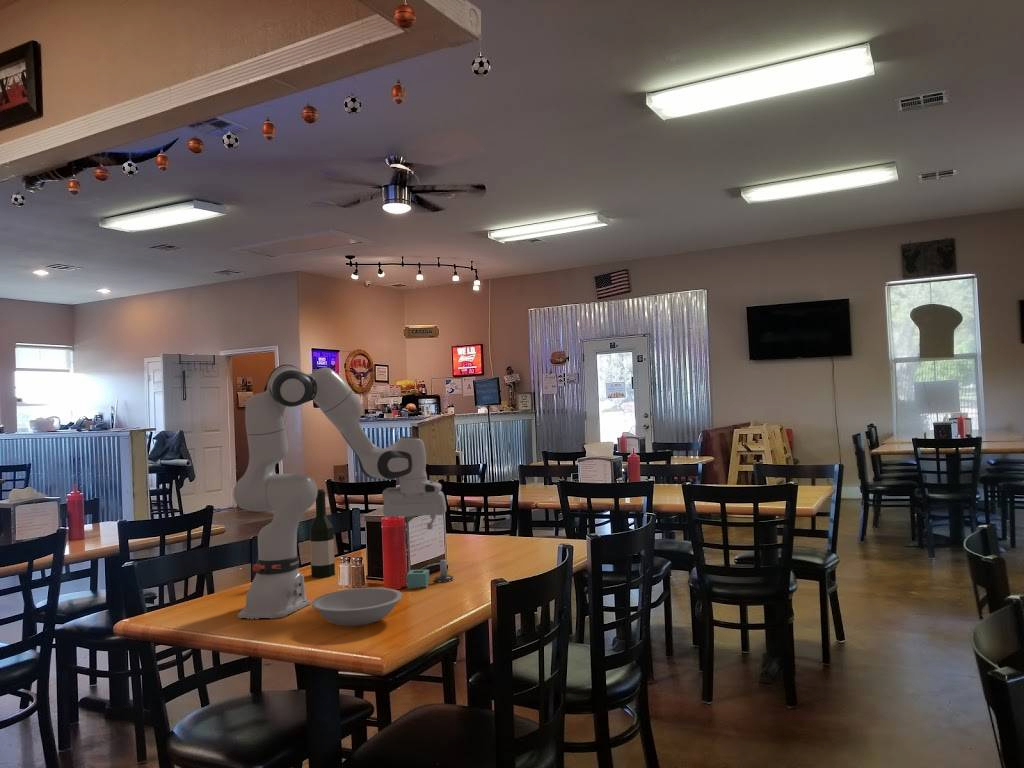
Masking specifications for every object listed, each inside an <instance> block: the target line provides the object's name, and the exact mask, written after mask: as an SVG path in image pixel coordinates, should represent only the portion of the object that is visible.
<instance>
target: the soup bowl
mask: <svg viewBox="0 0 1024 768" xmlns="http://www.w3.org/2000/svg"><path fill="white" fill-rule="evenodd" d="M402 598H403V593H402V592H401V591H399V590H397V589H393V588H389V587H388V588H387V587H358V588H356V587H355V588H350V589H349V588H348V589H343V590H338V591H333V592H328V593H325V594H322V595H319V596H318V597H316V598H315V599H313V600H312V602H310V605H311V607H312V608H313V609H315V610H317V611H318V613H319V614H320V615H321V616H322V617H323V618H324V619H325V620H327V621H328V622H330V623H332V624H335V625H339V626H341V627H342V626H343V627H344V626H346V627H355V626H357V627H358V626H359V627H360V626H365V625H370V624H372V623H375V622H376V623H377V622H378V621H381V620H382V619H384V618H385V617H387V616H388V615H389V614H390V613H391V612H392V611H393V610H394V608H395V607H396V605H397V603H398V602H400V600H402Z"/></svg>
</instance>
